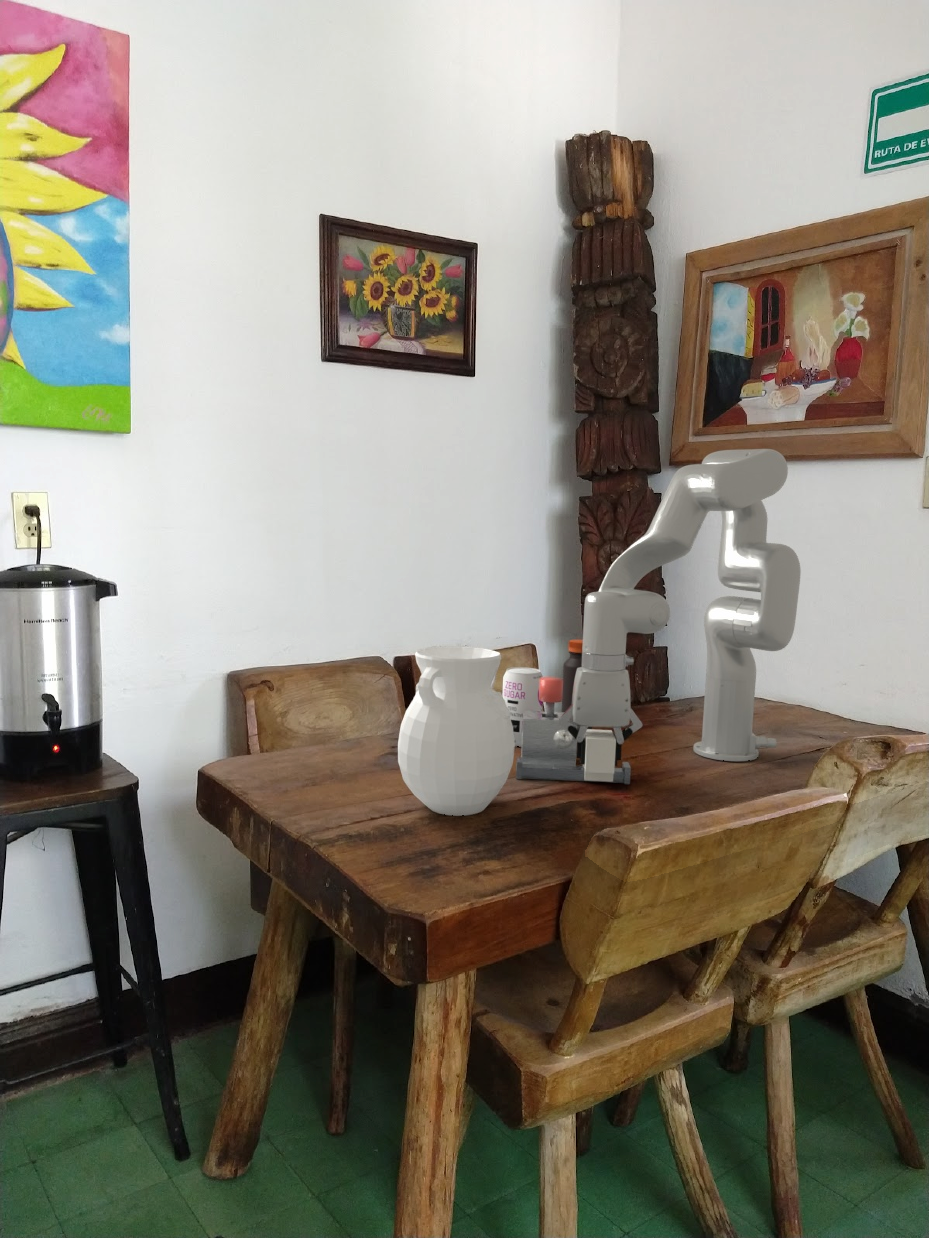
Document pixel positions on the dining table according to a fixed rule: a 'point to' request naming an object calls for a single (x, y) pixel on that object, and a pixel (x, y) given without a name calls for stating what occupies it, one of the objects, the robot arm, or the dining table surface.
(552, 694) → the button
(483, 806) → the pitcher
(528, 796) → the dining table surface
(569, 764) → the grey box
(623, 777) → the rail
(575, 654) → the bottle
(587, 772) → the carriage
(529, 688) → the supplement can
